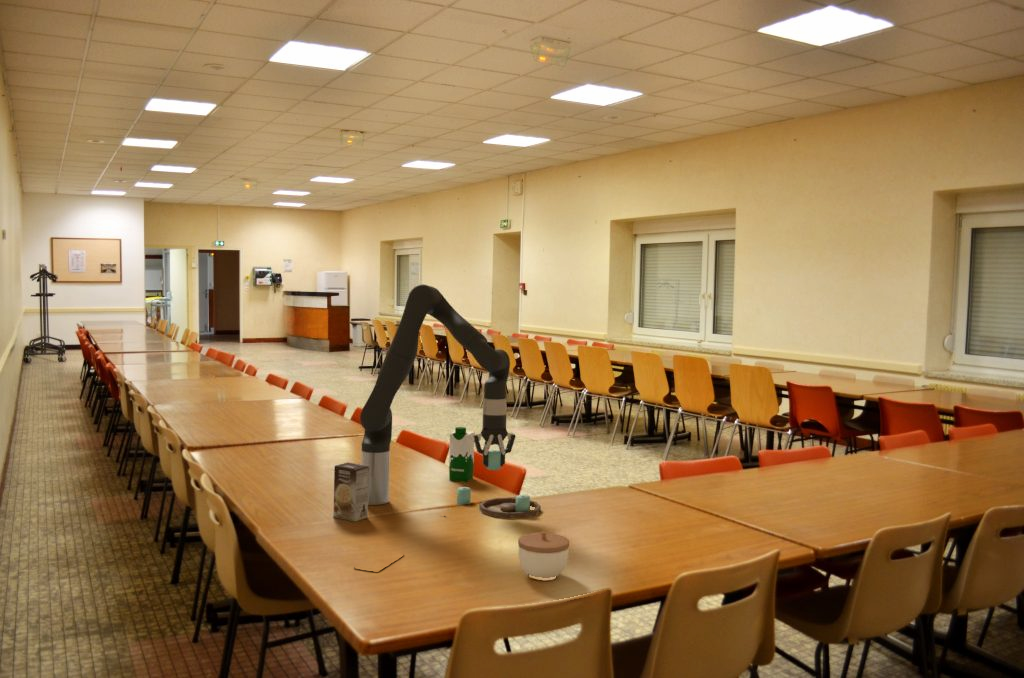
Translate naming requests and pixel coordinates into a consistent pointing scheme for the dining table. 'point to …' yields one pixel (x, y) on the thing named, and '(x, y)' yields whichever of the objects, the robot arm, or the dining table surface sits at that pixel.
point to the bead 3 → (522, 503)
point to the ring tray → (506, 508)
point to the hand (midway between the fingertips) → (493, 465)
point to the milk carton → (461, 455)
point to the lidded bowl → (543, 554)
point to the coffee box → (351, 491)
